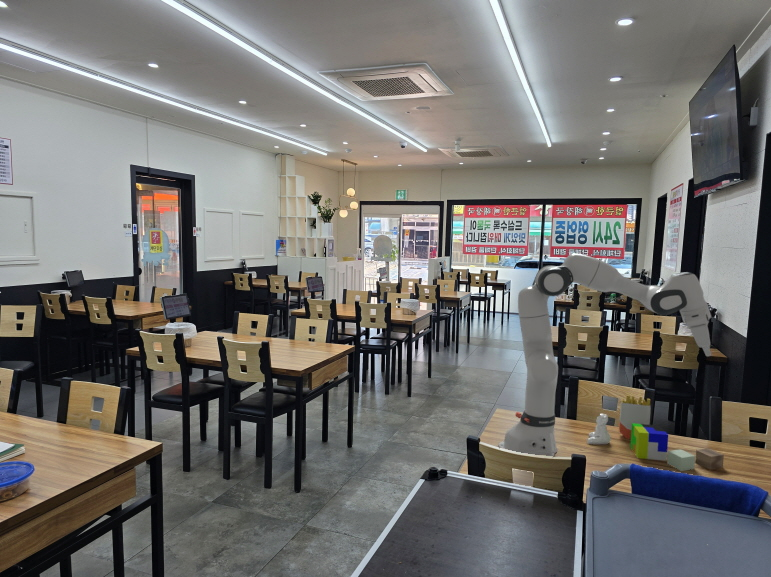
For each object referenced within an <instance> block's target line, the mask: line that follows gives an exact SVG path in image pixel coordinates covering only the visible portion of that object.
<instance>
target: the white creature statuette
mask: <svg viewBox="0 0 771 577" xmlns="http://www.w3.org/2000/svg"><path fill="white" fill-rule="evenodd" d="M608 421H609V417H608V414H605V413H600V414H599V415H598V416H597V417H596V420H595V423H596V426H595V428H594V431H592V432H589V433H588V438H587V439H586V442H587V444H588V445H592V444H593V445H608V444H610V442H611V440H612V436H611V434H610V433H609V432H608V427H607V423H608Z"/></svg>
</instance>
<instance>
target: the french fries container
mask: <svg viewBox="0 0 771 577" xmlns="http://www.w3.org/2000/svg"><path fill="white" fill-rule="evenodd" d="M638 398H639V399H638V400H637V399H635V396H634V395H632V396H631V395H630V394H626V399H625V398H622V402H620V414H619V422H618V423H619V425H618V430H619V431H618V432H619V433H620V434H622V436H623V437H624V438H626V439H627V440H628V439H629V440H631V429H632V423H635V424H648V425H651V424H650V423H651V422H650V421H651V406H652V405H651V399H650V398H646V400H645V399H643V397H642V396H639V397H638Z"/></svg>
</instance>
